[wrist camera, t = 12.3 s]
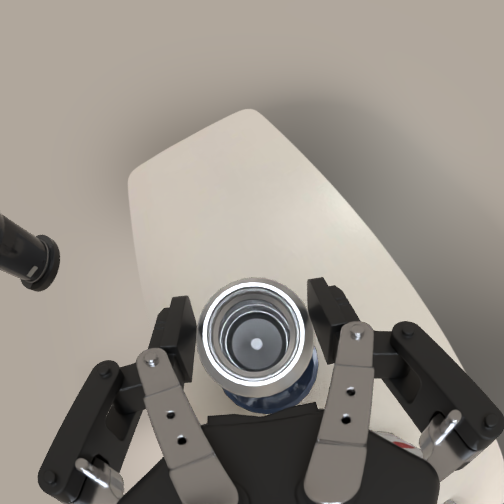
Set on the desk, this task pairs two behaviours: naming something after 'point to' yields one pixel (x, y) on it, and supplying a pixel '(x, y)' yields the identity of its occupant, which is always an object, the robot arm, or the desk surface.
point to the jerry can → (449, 502)
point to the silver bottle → (255, 337)
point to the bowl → (281, 393)
